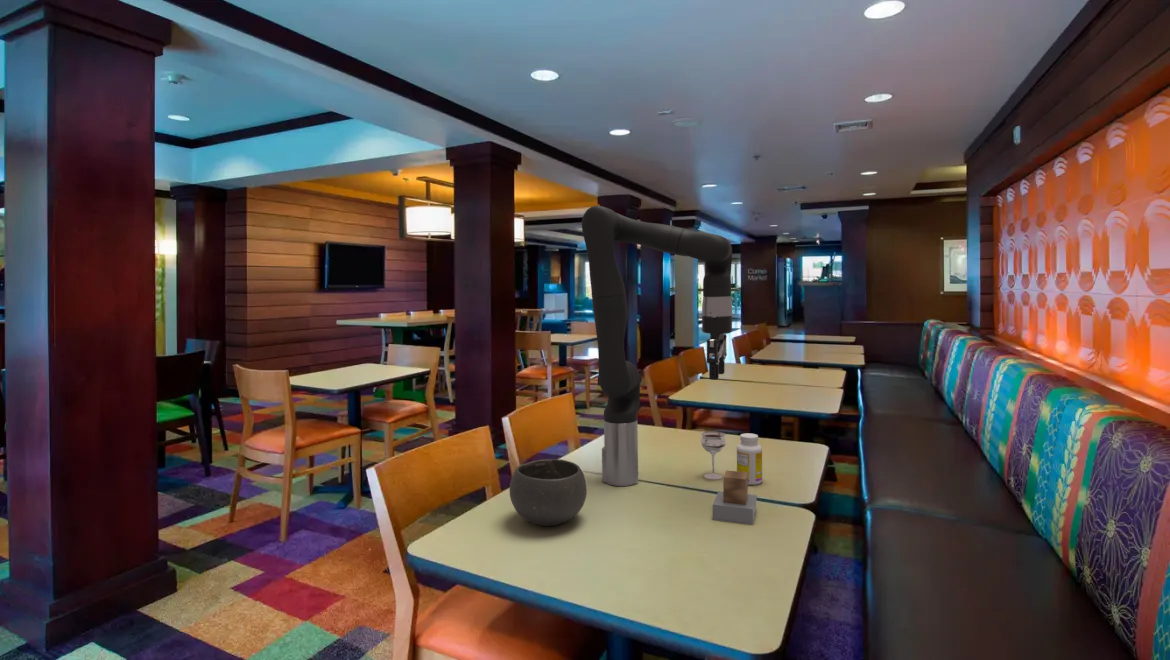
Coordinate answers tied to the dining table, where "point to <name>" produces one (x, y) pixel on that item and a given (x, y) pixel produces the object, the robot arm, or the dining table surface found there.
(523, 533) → the dining table surface
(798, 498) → the dining table surface
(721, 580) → the dining table surface
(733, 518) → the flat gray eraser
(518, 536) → the dining table surface
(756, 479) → the supplement bottle
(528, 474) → the bowl
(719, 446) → the wineglass
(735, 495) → the walnut block
